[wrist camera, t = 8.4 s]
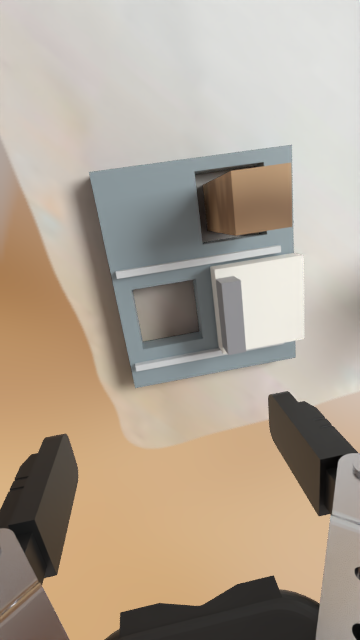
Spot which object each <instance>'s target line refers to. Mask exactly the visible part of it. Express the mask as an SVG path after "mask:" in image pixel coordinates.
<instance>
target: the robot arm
mask: <svg viewBox="0 0 360 640" xmlns="http://www.w3.org/2000/svg"><path fill="white" fill-rule="evenodd" d="M268 406H269V425H270V426H269V427H270V432H271V436H272V439H273V441H274V443H275V444H276V446H277V448H278V450H279V451H280V453H281V454H282V456H283V458H284V459H285V461H286V463H287V464H288V466H289V467H290V469H291V471H292V473H293V474H294V476H295V478H296V479H297V481H298V483H299V484H300V486H301V488H302V489H303V491H304V493H305V494H306V496H307V498H308V499H309V501H310V503H311V504H312V506H313V507H314V509H315V511H316V512H317V514H318V516H322V515H327V514H331V517H330V524H329V532H328V541H327V549H326V558H325V566H324V574H323V582H322V590H321V599H320V604H319V603H318V602H316V601H314V600H312V599H310V598H308V597H306V596H304V595H301V594H298V593H296V592H292V591H287V590H279V588H278V586H277V583H276V580H275V578H274V576H270V577H265V578H261V579H257V580H253V581H249V582H245V583H240V584H237V585H235V586H234V587H232V588H230V589H229V590H227V591H225V592H224V593H222V594H220V595H219V596H217V597H215V598H214V599H212V600H210V601H209V602H207V603H205V604H204V605H201V606H190V605H176V604H163V603H158V604H154V605H150V606H146V607H142V608H138V609H134V610H129V611H125V612H121V613H120V629H119V630H117V631H115V632H114V633H112V634H111V635H110V636H109V637H107V638H106V639H105V640H360V454H359V453H358V452H357V451H356V450H355V449H354V448H353V447H352V446H351V445H350V444H349V443H348V442H347V441H346V439H345V438H344V437H343V436H342V435H341V434H340V433H339V432H338V431H337V430H336V429H335V428H334V427H333V426H332V425H331V423H330V422H329V421H328V420H327V419H325V417H324V416H323V415H322V414H321V413H320V411H319V410H318V409H317V408H316V407H314V406H312V405H310V404H308V403H306V402H305V401H303V402H297V401H296V399H295V398H294V397H293V396H292V395H291V394H290V393H289V392H288V391H286V392H281V393H276V394H271V395H269V397H268ZM77 483H78V467H77V463H76V460H75V457H74V453H73V450H72V447H71V444H70V441H69V438H68V436H67V434H61V435H56V436H51V437H46V438H45V439H44V440H43V442H42V445H41V447H40V450H39V452H38V453H37V454H32V455H30V456H29V458H28V459H27V460H26V461H25V462H24V463H23V464H22V465H21V466H20V468H19V471H18V473H17V475H16V477H15V481H14V482H13V484H12V486H11V488H10V492H8V494H7V497H6V499H5V501H4V503H3V505H2V507H1V509H0V640H69V638H68V636H67V634H66V632H65V630H64V628H63V626H62V624H61V622H60V620H59V618H58V616H57V614H56V612H55V611H54V608H53V607H52V605H51V603H50V601H49V599H48V597H47V595H46V593H45V591H44V589H43V587H42V583H43V579H44V578H46V577H51V576H55V575H57V573H58V568H59V564H60V559H61V555H62V550H63V546H64V541H65V537H66V533H67V528H68V523H69V519H70V515H71V510H72V506H73V501H74V496H75V492H76V488H77Z"/></svg>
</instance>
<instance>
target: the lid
mask: <svg viewBox="0 0 360 640" xmlns="http://www.w3.org/2000/svg"><path fill="white" fill-rule="evenodd" d="M210 272H211V281H212V290H213V299H214V309H215V318H216V327H217V337H218V346H219V348H220V350H221V351H222V353H223V354H226V353H227V354H228V355H233V354H238V353H243V352H246V350H248V349H253V348H258V347H264V346H269V345H274V344H280V343H285V342H291V341H296V340H301V339H304V255H301V254H297V253H290V254H284V255H278V256H272V257H266V258H260V259H253V260H247V261H241V262H235V263H229V264H223V265H217V266H211V267H210Z"/></svg>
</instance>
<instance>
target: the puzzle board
mask: <svg viewBox="0 0 360 640" xmlns="http://www.w3.org/2000/svg"><path fill="white" fill-rule="evenodd" d="M284 163H291V175H292V145H287V146H279V147H272V148H264V149H257V150H250V151H242V152H235V153H227V154H220V155H212V156H205V157H198V158H190V159H183V160H175V161H168V162H160V163H153V164H146V165H138V166H131V167H123V168H116V169H109V170H101V171H94V172H89V175H90V180H91V184H92V189H93V194H94V198H95V203H96V207H97V212H98V217H99V221H100V226H101V231H102V235H103V240H104V245H105V249H106V254H107V259H108V263H109V268H110V273H111V277H112V282H113V287H114V291H115V296H116V301H117V305H118V310H119V314H120V319H121V324H122V328H123V333H124V338H125V342H126V347H127V352H128V356H129V361H130V366H131V370H132V375H133V380H134V384H135V388H138V387H143V386H149V385H154V384H159V383H164V382H169V381H175V380H180V379H185V378H190V377H196V376H201V375H206V374H211V373H217V372H222V371H227V370H232V369H238V368H243V367H248V366H253V365H259V364H264V363H269V362H274V361H279V360H285V359H290V358H295V357H296V353H295V341H291V342H285V343H280V344H274V345H269V346H264V347H258V348H253V349H248V350H246V352H243V353H238V354H233V355H228V354H227V353H226V354H223V353H222V351H221V350H220V348H219V346H218V337H217V327H216V318H215V309H214V299H213V290H212V281H211V272H210V267H211V266H217V265H223V264H229V263H235V262H241V261H247V260H253V259H260V258H266V257H272V256H278V255H284V254H290V253H294V243H293V188H292V227H288V228H282V229H275V230H269V231H262V232H259V234H252V235H246V236H240V237H233V238H227V239H220V240H214V241H208V242H202V234H201V225H200V216H199V207H198V199H197V190H196V181H195V174H198V173H206V172H213V171H220V170H227V169H234V168H242V167H249V166H255V167H262V166H270V165H277V164H284ZM188 280H193V285H194V293H195V301H196V309H197V317H198V324H199V332H195V333H189V334H184V335H178V336H172V337H167V338H161V339H156V340H150V341H145V342H143V341H142V336H141V331H140V326H139V320H138V315H137V310H136V305H135V300H134V295H133V290H134V289H140V288H146V287H152V286H158V285H164V284H170V283H176V282H182V281H188Z"/></svg>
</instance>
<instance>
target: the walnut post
mask: <svg viewBox="0 0 360 640" xmlns="http://www.w3.org/2000/svg"><path fill="white" fill-rule="evenodd" d="M203 193H204V202H205V211H206V221H207V230H208V231H213V232H218V233H224V234H230V235H235V236H237V235H243V234H249V233H256V232H262V231H269V230H275V229H282V228H288V227H292V175H291V163H284V164H277V165H270V166H262V167H255V168H248V169H241V170H234V171H230V172H228V173H226V174H224V175H222V176H220V177H218V178H216V179H214V180H212V181H210V182H208V183H206V184H204V185H203Z"/></svg>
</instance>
